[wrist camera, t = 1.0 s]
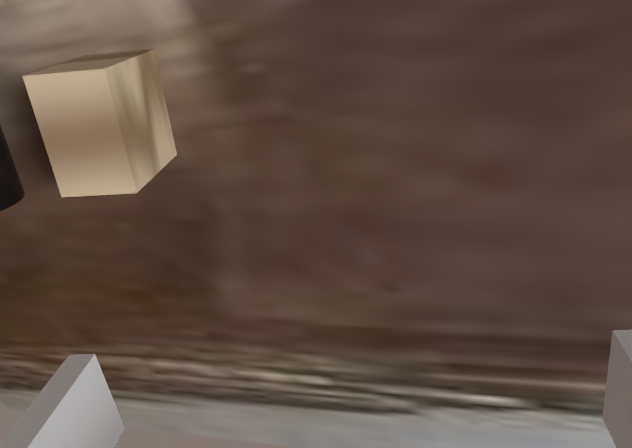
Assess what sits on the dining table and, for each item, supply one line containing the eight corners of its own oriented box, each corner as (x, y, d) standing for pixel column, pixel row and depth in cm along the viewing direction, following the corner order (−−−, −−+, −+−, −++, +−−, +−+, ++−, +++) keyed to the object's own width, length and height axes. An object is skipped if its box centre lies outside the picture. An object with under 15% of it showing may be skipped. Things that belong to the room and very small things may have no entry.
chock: (85, 55, 30) (22, 76, 25) (154, 49, 30) (104, 68, 24) (113, 158, 33) (61, 197, 27) (177, 154, 32) (136, 193, 27)
